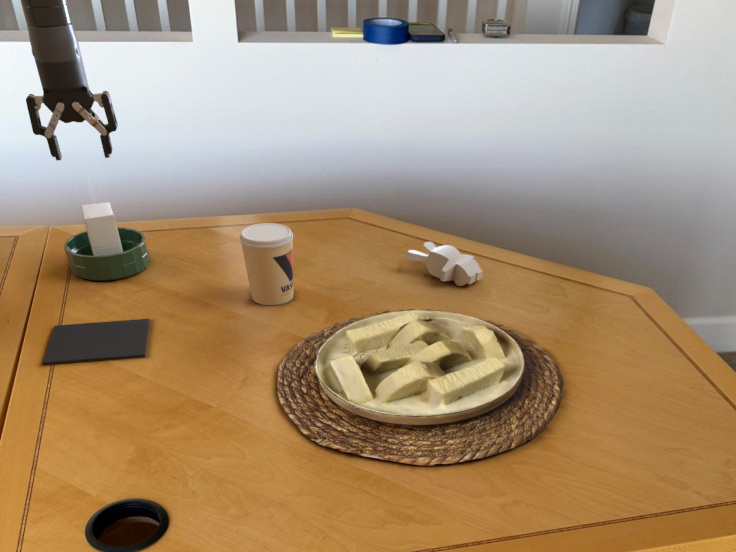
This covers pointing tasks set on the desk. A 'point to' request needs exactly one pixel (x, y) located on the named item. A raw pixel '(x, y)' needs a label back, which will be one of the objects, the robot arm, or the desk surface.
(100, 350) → the mat
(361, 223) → the desk surface
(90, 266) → the bowl
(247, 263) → the coffee cup
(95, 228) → the small box
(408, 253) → the bunny figurine
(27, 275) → the desk surface
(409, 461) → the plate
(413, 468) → the desk surface
